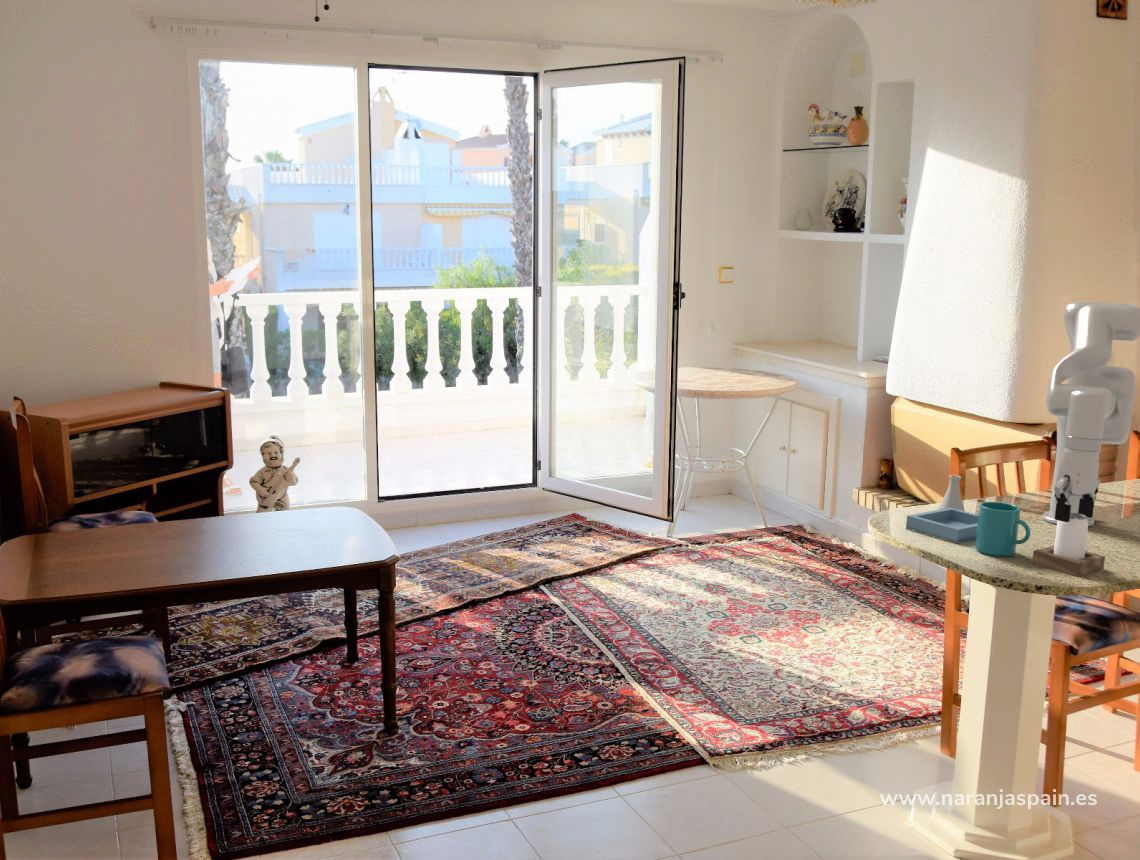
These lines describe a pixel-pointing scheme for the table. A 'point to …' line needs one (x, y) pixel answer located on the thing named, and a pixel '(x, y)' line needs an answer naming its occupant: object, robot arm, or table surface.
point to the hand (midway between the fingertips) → (1073, 518)
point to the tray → (945, 524)
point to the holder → (1068, 562)
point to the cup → (999, 529)
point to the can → (1071, 537)
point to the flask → (953, 495)
